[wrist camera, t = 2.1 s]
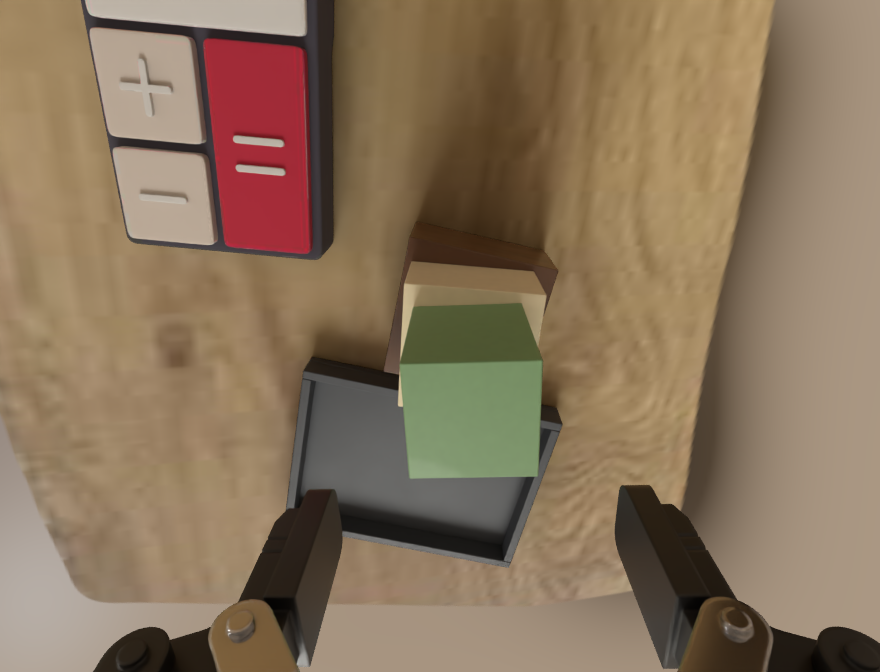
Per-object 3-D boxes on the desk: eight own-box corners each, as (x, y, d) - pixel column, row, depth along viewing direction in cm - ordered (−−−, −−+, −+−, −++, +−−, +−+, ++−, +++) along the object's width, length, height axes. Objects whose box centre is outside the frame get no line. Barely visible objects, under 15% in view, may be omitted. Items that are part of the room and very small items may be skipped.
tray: (311, 356, 33) (303, 370, 32) (557, 407, 34) (563, 424, 33) (292, 505, 39) (283, 525, 37) (506, 546, 40) (509, 568, 38)
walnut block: (416, 221, 30) (409, 236, 26) (544, 250, 30) (558, 270, 26) (392, 340, 33) (383, 371, 29) (509, 365, 33) (516, 399, 29)
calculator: (118, 247, 27) (46, -106, 21) (161, 228, 31) (111, -74, 24) (318, 265, 27) (310, -80, 21) (336, 244, 31) (334, -53, 24)
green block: (412, 306, 23) (399, 363, 17) (521, 302, 23) (543, 359, 17) (419, 400, 25) (409, 479, 19) (519, 398, 25) (538, 477, 19)
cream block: (411, 260, 26) (403, 283, 22) (534, 271, 26) (547, 294, 22) (405, 370, 29) (397, 406, 25) (517, 379, 29) (526, 417, 25)
